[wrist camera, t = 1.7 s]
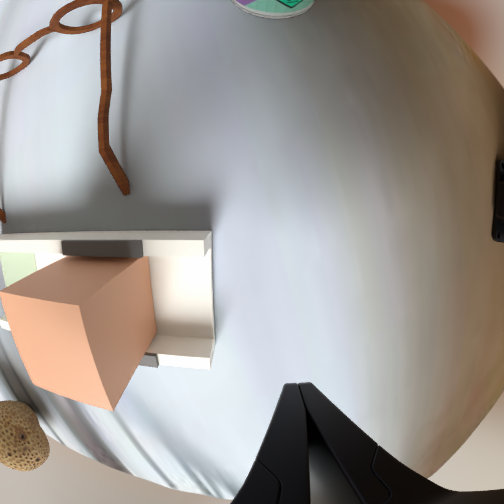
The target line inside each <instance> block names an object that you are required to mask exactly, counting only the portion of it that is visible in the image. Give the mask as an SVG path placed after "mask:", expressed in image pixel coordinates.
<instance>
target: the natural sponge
mask: <svg viewBox="0 0 504 504" xmlns="http://www.w3.org/2000/svg"><path fill="white" fill-rule="evenodd" d="M49 450H50V449H49V443H48V440H47V437H46V435H45V433H44V431H43V430H42V428H41V427H40V425H39V422H38V418H37V416H36V414H35V412H34V411H33V410H32V409H31V408H30V407H29V406H28V405H27V404H25V403H22V402H18V401H11V400H9V401H0V462H1V463H3V464H4V465H5V466H7V467H10V468H12V469H16V470H20V471H30V470H33V469H36V468H38V467H39V466H40V465H42V464H43V463H44V462H45V461H46V460H47V458H48V456H49Z"/></svg>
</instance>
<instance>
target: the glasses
mask: <svg viewBox="0 0 504 504" xmlns="http://www.w3.org/2000/svg"><path fill="white" fill-rule="evenodd" d="M89 4H103V5H102V18H101V21H98V22H96V23H93V24H90V25H86V26H81V27H70V26H65V25H62V24H61V23H60V22H59V21H60V19H61V18H62V17H63V16H64V15H65V14H67V13H68V12H70V11H72V10H74V9H76V8H78V7H81V6H85V5H89ZM112 9H113V13H112ZM121 14H122V4H121V2H120V1H119V0H75V1H73V2H70V3H68V4H67V5H65V6H63V7H62V8H60V9H59V10H58V11H57V12H56V13H55V14H54V15H53V17H52V18H51V20H50V25H49V27H46V28H43V29H41V30H39V31H37V32H36V33H34V34H33V35H31V36H30V37H28V38H27V39H25V40H24V41H23V42H21V43H20V44H19V45H18V46H17V47H16V48H15V50H14V51H9V52H6V53H3V54H1V55H0V61H3V60H6V59H19V60H22V61H23V62H22V63H21V64H20V65H19V66H18V67H17V68H15V69H13V70H11V71H9V72H7V73H4V74H1V75H0V80H3V79H6V78H9V77H11V76H13V75H15V74H17V73H18V72H20V71H21V70H22V69H24V68H25V67H27V65H28V64H29V62H30V56H29V55H28V54H26V53H24V52H21V51H22V50H23V49H24V48H26V47H27V46H29V45H30V44H32V43H33V42H35V41H36V40H38V39H39V38H41V37H43V36H44V35H46V34H49V33H51V32H58V33H63V34H80V33H85V32H89V31H93V30H95V29H97V28H100V27H101V40H100V68H101V97H100V104H99V112H98V142H99V153H100V155H101V156H102V158H103V160H104V162H105V164H106V165H107V167H108V169H109V171H110V172H111V174H112V176H113V178H114V179H115V181H116V183H117V184H118V186H119V188H120V190H121V191H122V193H123V195H128V194H129V193H130V189H129V181H128V179H127V177H126V175H125V173H124V172H123V170H122V168H121V166H120V164H119V162H118V160H117V159H116V157H115V155H114V153H113V151H112V149H111V147H110V145H109V119H108V116H109V107H110V99H111V92H112V83H111V23H112V22H113V21H115V20H116V19H118V18H119V17H120V15H121ZM0 220H1V221H2V222H3V223H6V218H5V213H4V212H3V210H2V209H1V208H0Z"/></svg>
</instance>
